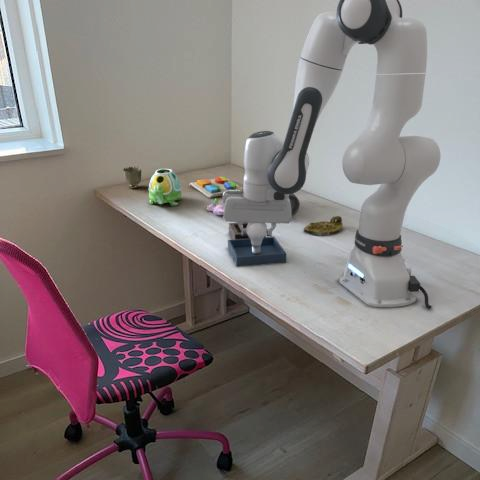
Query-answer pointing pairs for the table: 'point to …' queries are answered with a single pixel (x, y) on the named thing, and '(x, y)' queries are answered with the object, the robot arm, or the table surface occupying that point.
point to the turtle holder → (164, 187)
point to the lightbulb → (256, 235)
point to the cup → (132, 176)
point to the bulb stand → (237, 231)
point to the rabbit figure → (215, 208)
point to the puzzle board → (215, 186)
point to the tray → (246, 257)
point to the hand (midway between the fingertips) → (256, 235)
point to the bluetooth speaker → (294, 203)
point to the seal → (325, 227)
